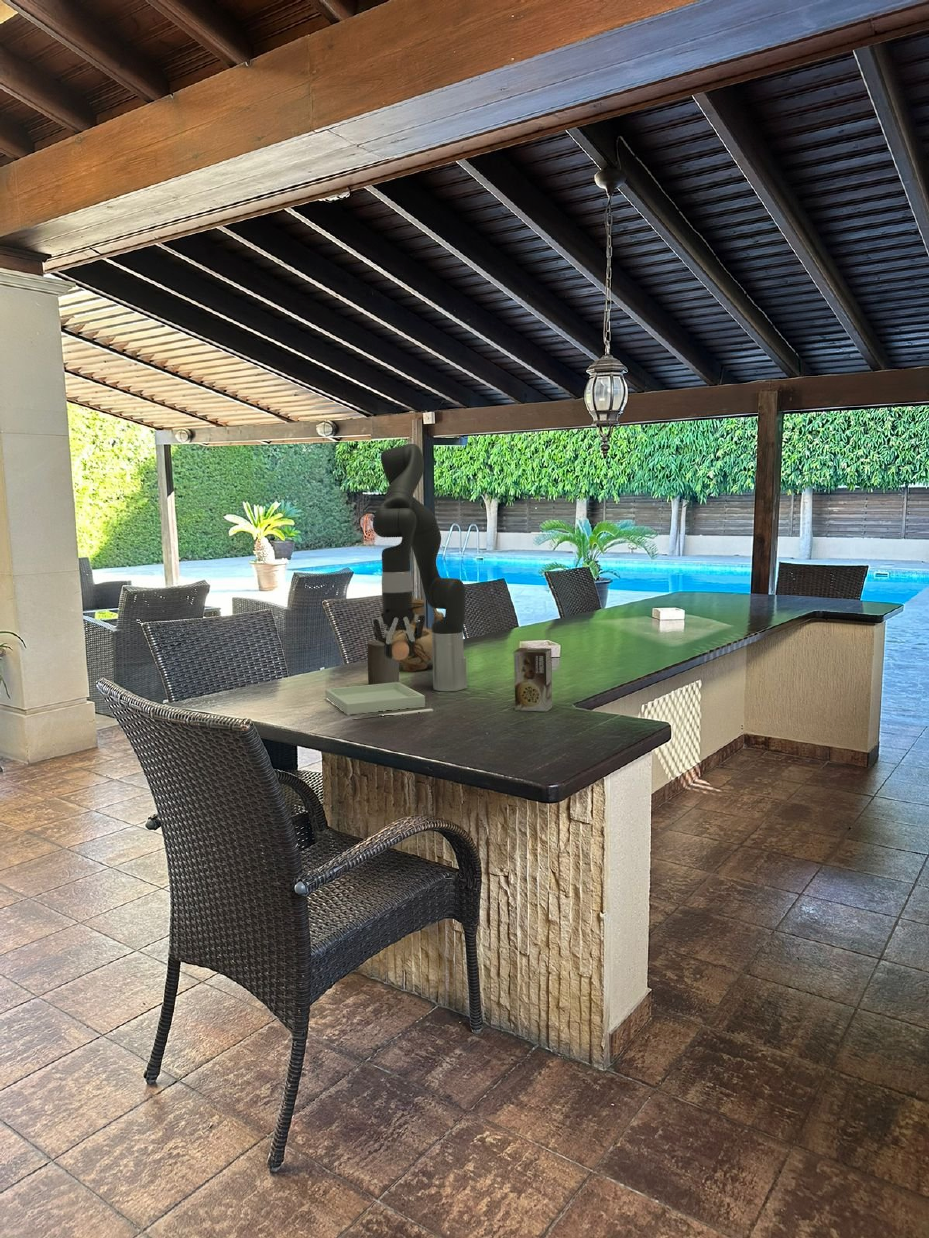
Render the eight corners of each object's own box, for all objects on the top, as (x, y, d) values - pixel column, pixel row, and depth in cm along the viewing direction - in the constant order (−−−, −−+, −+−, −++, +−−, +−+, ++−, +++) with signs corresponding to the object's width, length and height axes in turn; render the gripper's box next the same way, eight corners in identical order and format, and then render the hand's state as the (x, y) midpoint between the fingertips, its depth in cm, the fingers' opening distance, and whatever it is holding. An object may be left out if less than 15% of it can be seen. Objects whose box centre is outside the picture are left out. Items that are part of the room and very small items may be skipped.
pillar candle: (362, 688, 267) (361, 639, 265) (377, 682, 276) (376, 634, 274) (390, 690, 263) (390, 641, 261) (405, 684, 272) (404, 636, 270)
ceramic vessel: (412, 676, 285) (410, 599, 282) (373, 669, 298) (371, 595, 295) (451, 668, 298) (450, 594, 295) (412, 662, 311) (411, 591, 308)
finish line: (430, 709, 237) (430, 708, 237) (433, 710, 235) (433, 709, 235) (352, 718, 228) (352, 717, 228) (353, 720, 227) (353, 719, 227)
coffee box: (553, 706, 238) (552, 648, 236) (547, 712, 232) (546, 651, 230) (520, 705, 241) (519, 646, 239) (513, 710, 235) (513, 650, 233)
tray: (398, 691, 261) (397, 681, 260) (425, 706, 241) (424, 695, 240) (325, 699, 252) (325, 689, 252) (347, 715, 232) (347, 704, 232)
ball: (405, 657, 223) (404, 638, 223) (412, 660, 219) (411, 640, 218) (386, 659, 221) (386, 639, 221) (393, 662, 217) (392, 642, 216)
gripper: (418, 586, 224) (420, 652, 226) (364, 590, 218) (367, 657, 220) (429, 589, 217) (431, 656, 219) (374, 592, 211) (377, 662, 214)
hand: (399, 656), depth 220 cm, fingers closed on ball, 5 cm apart
